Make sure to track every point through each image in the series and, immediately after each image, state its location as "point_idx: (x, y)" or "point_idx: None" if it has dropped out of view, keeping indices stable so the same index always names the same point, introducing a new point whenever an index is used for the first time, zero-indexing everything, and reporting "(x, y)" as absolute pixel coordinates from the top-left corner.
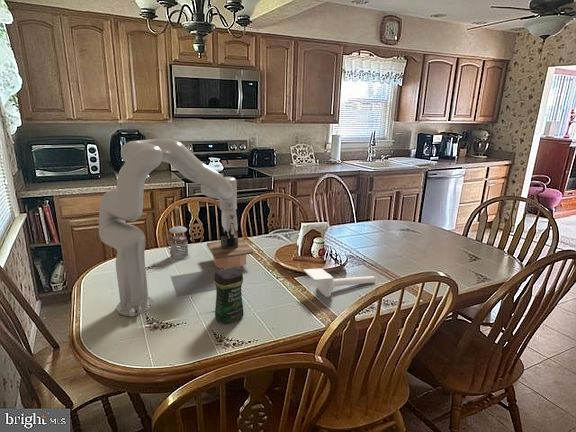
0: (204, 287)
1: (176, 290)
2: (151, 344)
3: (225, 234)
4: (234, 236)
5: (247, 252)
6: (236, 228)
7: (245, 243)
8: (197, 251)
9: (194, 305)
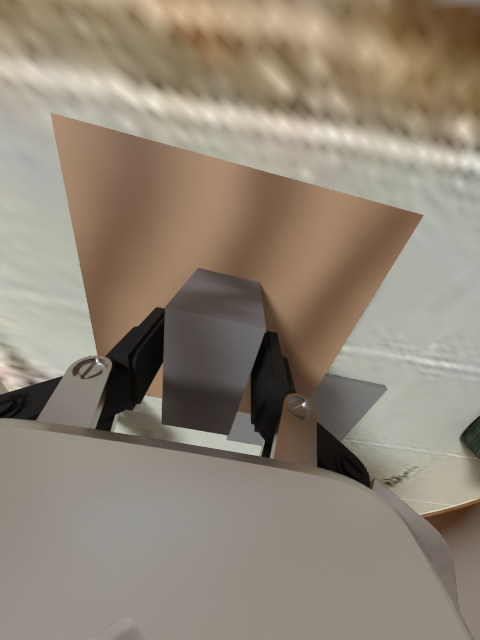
0: (338, 416)
1: None
2: (411, 498)
3: (141, 396)
4: (316, 416)
5: (388, 269)
6: (452, 622)
7: (212, 166)
8: (62, 333)
9: (380, 445)
